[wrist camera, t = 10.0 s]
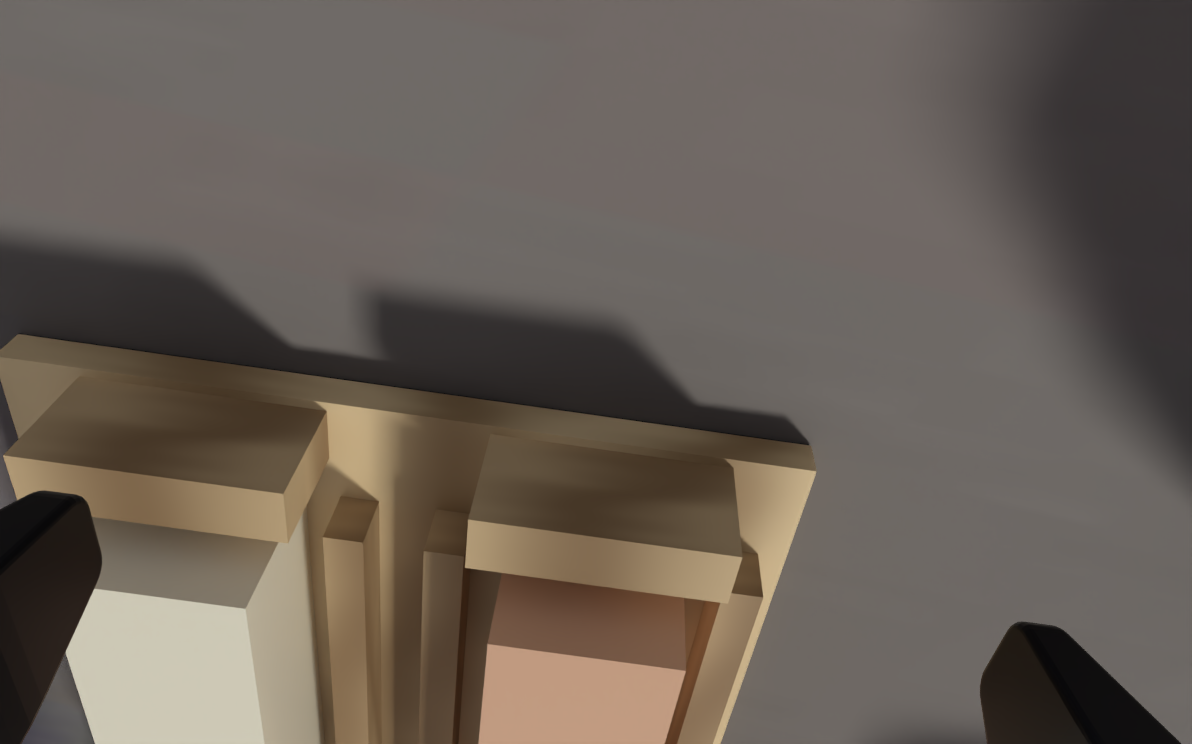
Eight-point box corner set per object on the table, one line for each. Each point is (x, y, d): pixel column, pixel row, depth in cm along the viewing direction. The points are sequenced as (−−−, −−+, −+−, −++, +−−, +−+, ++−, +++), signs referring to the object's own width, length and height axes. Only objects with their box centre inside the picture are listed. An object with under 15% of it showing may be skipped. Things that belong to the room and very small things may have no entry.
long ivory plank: (305, 488, 23) (245, 608, 20) (330, 819, 32) (292, 939, 29) (131, 464, 23) (42, 581, 20) (205, 802, 32) (153, 922, 29)
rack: (810, 445, 23) (836, 562, 19) (663, 878, 35) (663, 994, 32) (18, 334, 22) (-95, 433, 19) (152, 811, 35) (98, 922, 31)
